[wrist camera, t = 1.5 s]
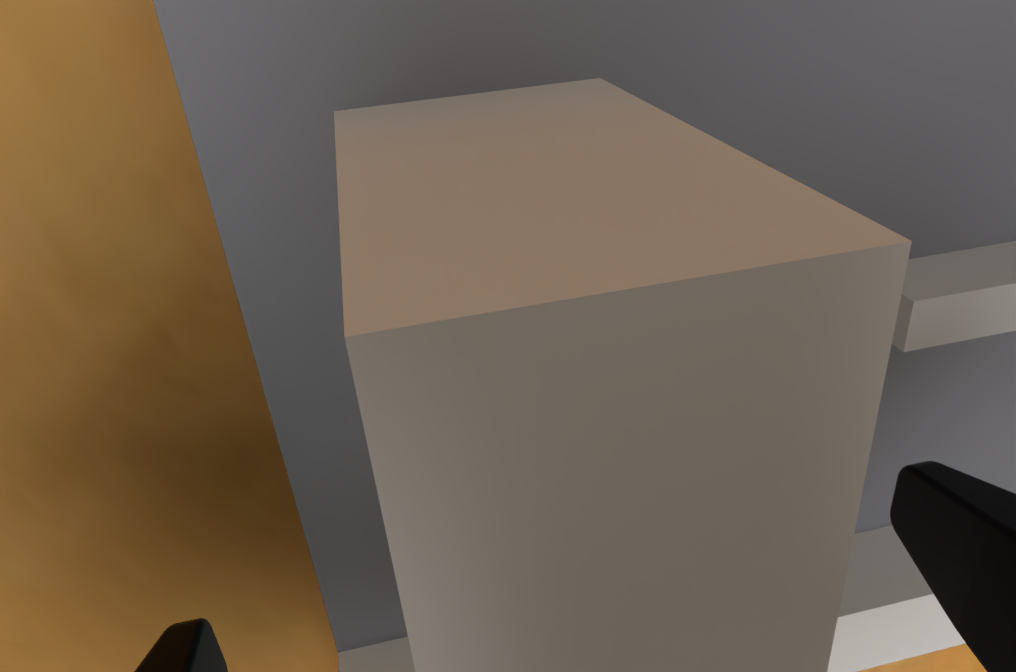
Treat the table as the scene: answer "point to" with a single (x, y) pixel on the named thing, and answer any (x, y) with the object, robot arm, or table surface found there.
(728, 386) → the carton
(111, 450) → the table surface
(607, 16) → the shelf board
